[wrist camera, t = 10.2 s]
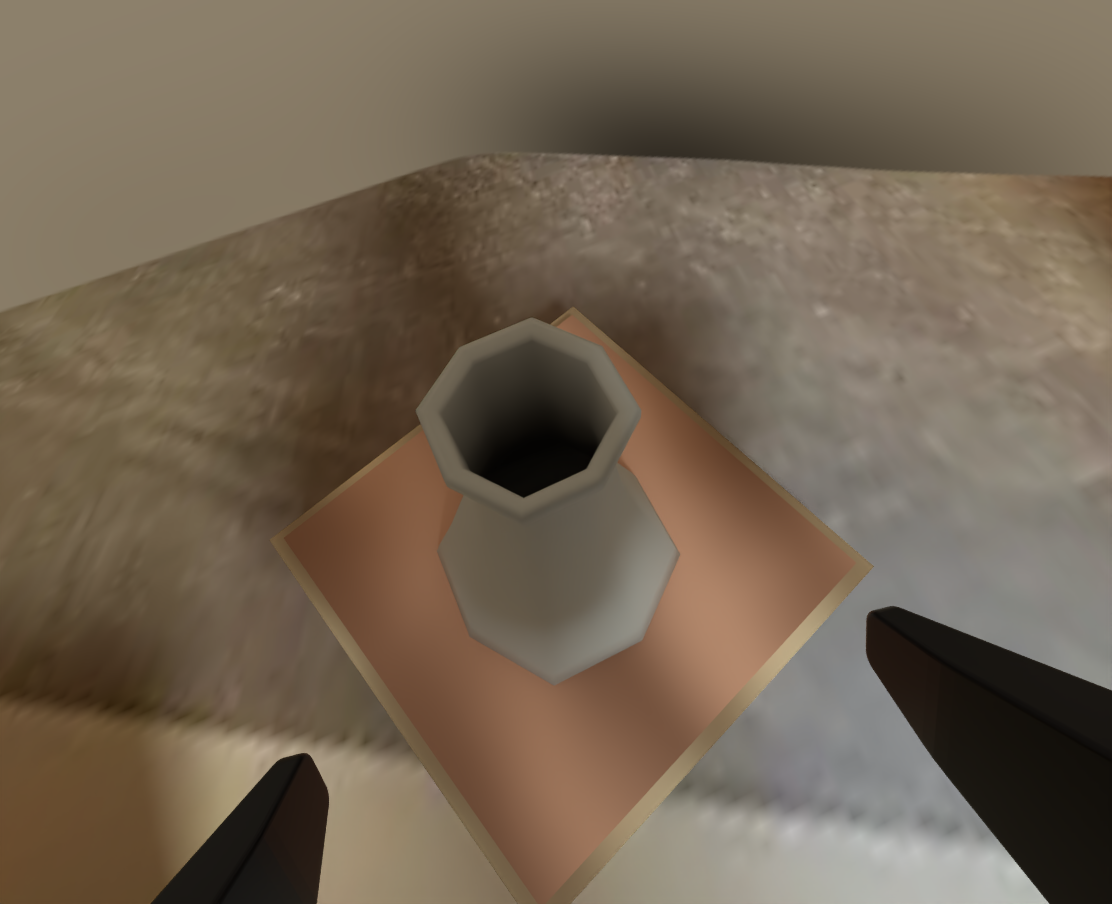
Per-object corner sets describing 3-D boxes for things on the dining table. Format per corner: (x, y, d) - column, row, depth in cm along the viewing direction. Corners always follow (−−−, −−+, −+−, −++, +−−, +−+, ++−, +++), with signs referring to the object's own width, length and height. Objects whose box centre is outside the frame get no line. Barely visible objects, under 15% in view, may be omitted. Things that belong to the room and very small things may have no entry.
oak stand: (547, 899, 16) (539, 943, 13) (306, 556, 21) (262, 537, 18) (838, 580, 19) (880, 563, 17) (574, 344, 24) (572, 299, 21)
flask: (553, 734, 15) (505, 818, 6) (400, 552, 17) (195, 409, 8) (720, 556, 17) (882, 409, 8) (560, 411, 19) (539, 164, 10)
